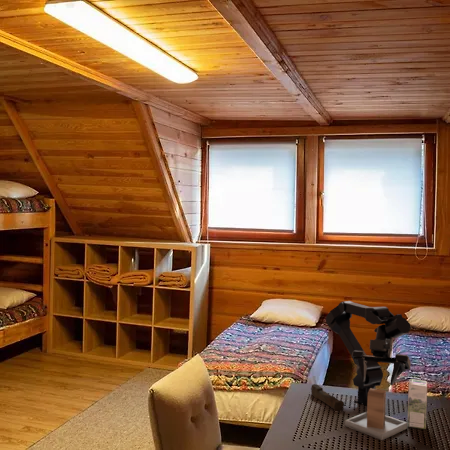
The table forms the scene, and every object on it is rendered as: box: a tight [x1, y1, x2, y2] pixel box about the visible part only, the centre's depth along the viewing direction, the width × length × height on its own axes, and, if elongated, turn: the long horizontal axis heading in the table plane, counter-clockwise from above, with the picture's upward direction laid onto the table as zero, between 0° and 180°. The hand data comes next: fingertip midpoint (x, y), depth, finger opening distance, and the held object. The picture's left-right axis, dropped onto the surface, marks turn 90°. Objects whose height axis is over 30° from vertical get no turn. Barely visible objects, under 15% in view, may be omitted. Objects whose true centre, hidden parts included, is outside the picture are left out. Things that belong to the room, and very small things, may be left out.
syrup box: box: [407, 378, 428, 430], centre depth 188 cm, size 6×6×14 cm
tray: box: [344, 411, 408, 441], centre depth 186 cm, size 14×14×2 cm
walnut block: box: [366, 388, 387, 429], centre depth 185 cm, size 5×5×11 cm
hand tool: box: [310, 383, 345, 412], centre depth 208 cm, size 19×4×5 cm, turn 19°
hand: (377, 383), depth 189 cm, fingers open, 9 cm apart
